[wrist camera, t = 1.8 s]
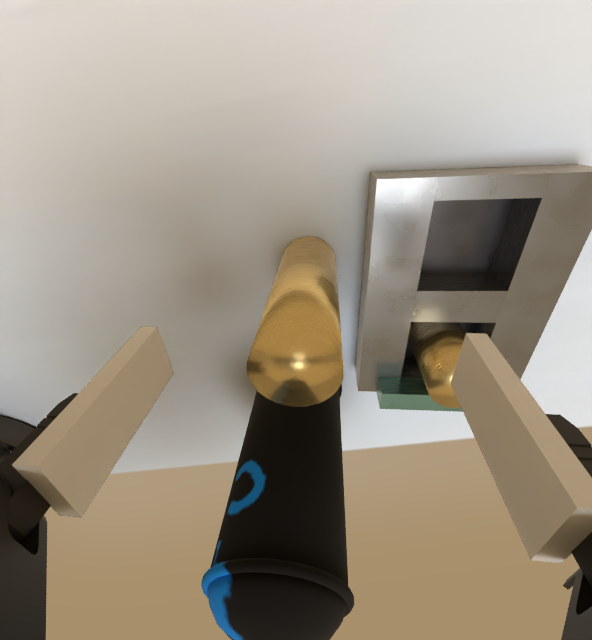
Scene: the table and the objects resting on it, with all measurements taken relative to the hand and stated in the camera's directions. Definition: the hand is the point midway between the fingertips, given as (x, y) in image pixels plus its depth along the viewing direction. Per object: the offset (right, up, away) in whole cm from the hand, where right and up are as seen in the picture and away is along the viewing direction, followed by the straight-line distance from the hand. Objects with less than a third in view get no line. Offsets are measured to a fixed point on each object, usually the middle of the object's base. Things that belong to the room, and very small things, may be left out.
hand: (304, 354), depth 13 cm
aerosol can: (0, -5, +16) cm, 17 cm away
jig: (+11, +4, +9) cm, 15 cm away
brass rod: (+1, +6, +9) cm, 11 cm away
